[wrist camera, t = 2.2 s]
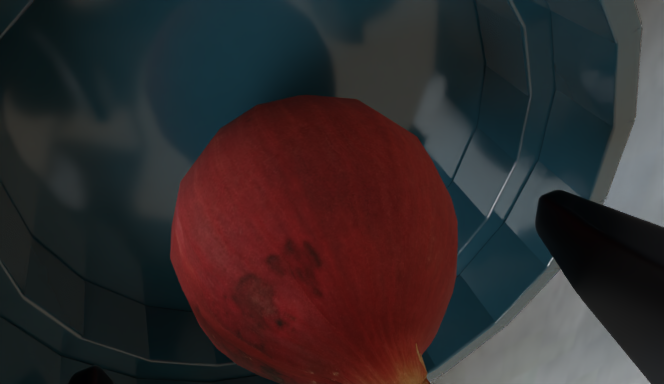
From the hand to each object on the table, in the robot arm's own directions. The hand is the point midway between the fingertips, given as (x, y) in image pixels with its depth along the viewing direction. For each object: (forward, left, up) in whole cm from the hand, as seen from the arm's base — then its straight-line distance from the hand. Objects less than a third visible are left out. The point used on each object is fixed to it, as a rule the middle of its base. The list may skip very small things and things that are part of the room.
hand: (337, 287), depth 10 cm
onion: (0, 0, -5) cm, 5 cm away
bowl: (0, 0, -6) cm, 6 cm away
